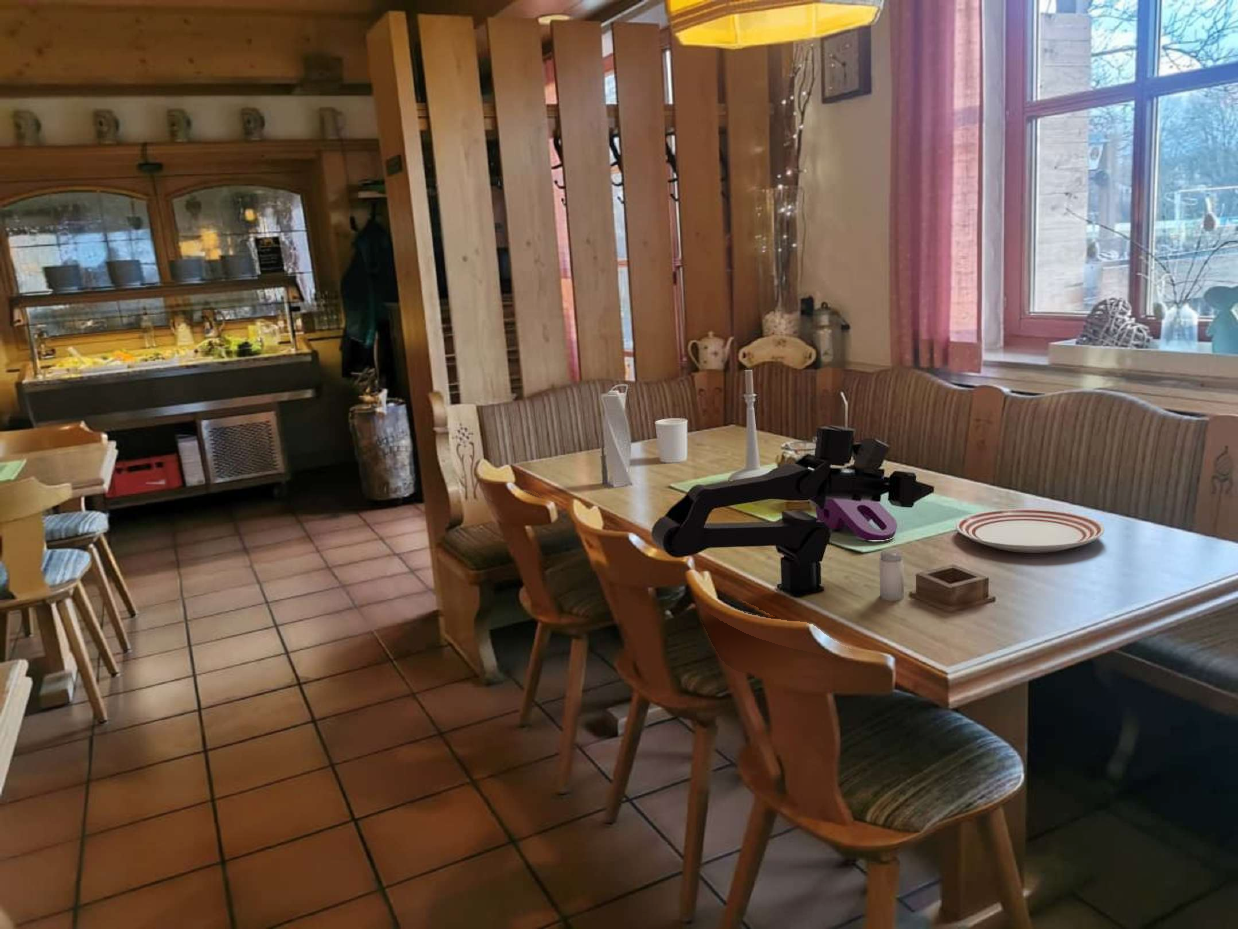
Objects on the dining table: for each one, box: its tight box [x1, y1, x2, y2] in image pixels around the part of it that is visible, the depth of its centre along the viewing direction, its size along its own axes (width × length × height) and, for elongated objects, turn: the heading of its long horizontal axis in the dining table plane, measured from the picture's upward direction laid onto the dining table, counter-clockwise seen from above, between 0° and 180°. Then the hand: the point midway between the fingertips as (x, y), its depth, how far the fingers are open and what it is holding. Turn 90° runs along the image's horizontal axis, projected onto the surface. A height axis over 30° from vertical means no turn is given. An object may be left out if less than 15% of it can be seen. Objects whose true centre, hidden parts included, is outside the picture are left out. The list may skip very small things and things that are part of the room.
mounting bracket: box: [815, 499, 898, 541], centre depth 204 cm, size 9×8×18 cm
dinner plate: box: [955, 508, 1105, 554], centre depth 190 cm, size 27×27×3 cm
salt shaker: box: [879, 549, 905, 602], centre depth 165 cm, size 4×4×8 cm
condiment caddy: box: [908, 563, 997, 613], centre depth 163 cm, size 10×10×4 cm
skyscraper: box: [600, 383, 634, 489], centre depth 258 cm, size 8×8×28 cm
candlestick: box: [729, 368, 772, 481], centre depth 254 cm, size 13×13×30 cm
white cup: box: [654, 417, 688, 464], centre depth 285 cm, size 10×10×12 cm
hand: (918, 486), depth 176 cm, fingers open, 9 cm apart
